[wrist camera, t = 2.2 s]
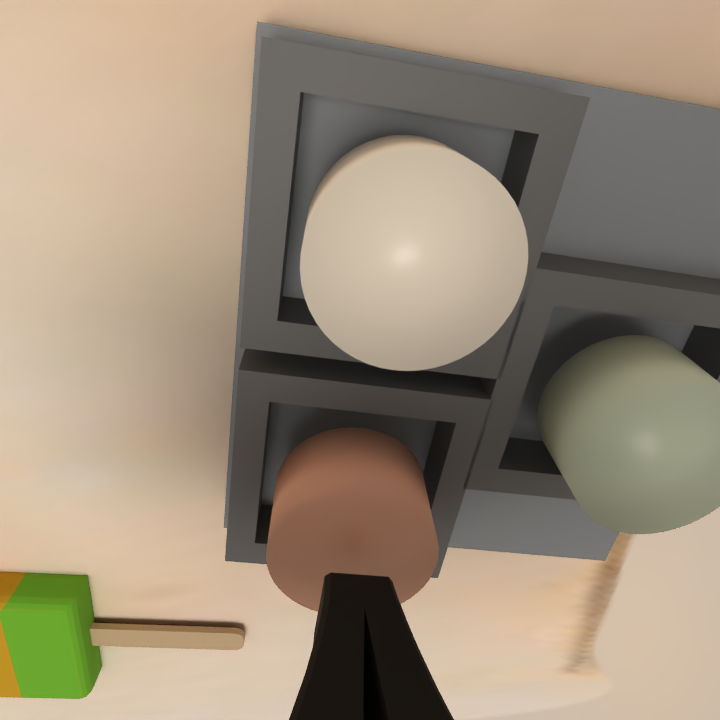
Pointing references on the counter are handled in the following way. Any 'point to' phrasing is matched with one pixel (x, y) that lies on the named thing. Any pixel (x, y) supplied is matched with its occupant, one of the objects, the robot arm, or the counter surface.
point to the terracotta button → (350, 515)
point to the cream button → (411, 254)
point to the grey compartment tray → (535, 304)
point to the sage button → (635, 434)
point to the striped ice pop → (74, 636)
